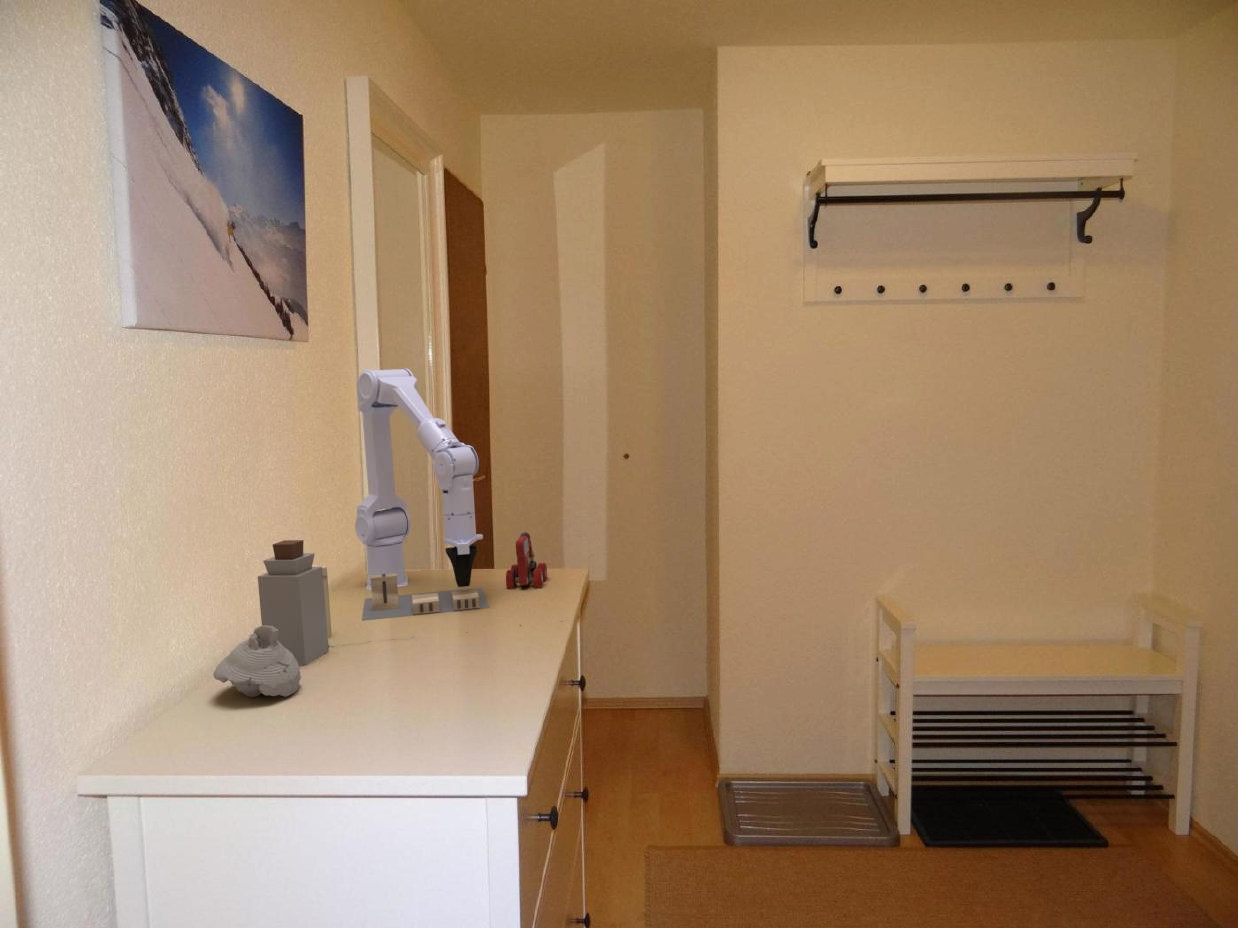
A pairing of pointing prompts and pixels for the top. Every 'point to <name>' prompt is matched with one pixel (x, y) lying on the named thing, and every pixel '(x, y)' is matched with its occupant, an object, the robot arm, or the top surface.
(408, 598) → the mat
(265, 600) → the perfume bottle
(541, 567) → the red wheeled toy
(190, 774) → the top surface
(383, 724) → the top surface
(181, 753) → the top surface
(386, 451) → the robot arm
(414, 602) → the tile two
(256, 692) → the grey clay mound
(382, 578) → the tile one
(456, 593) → the tile three
